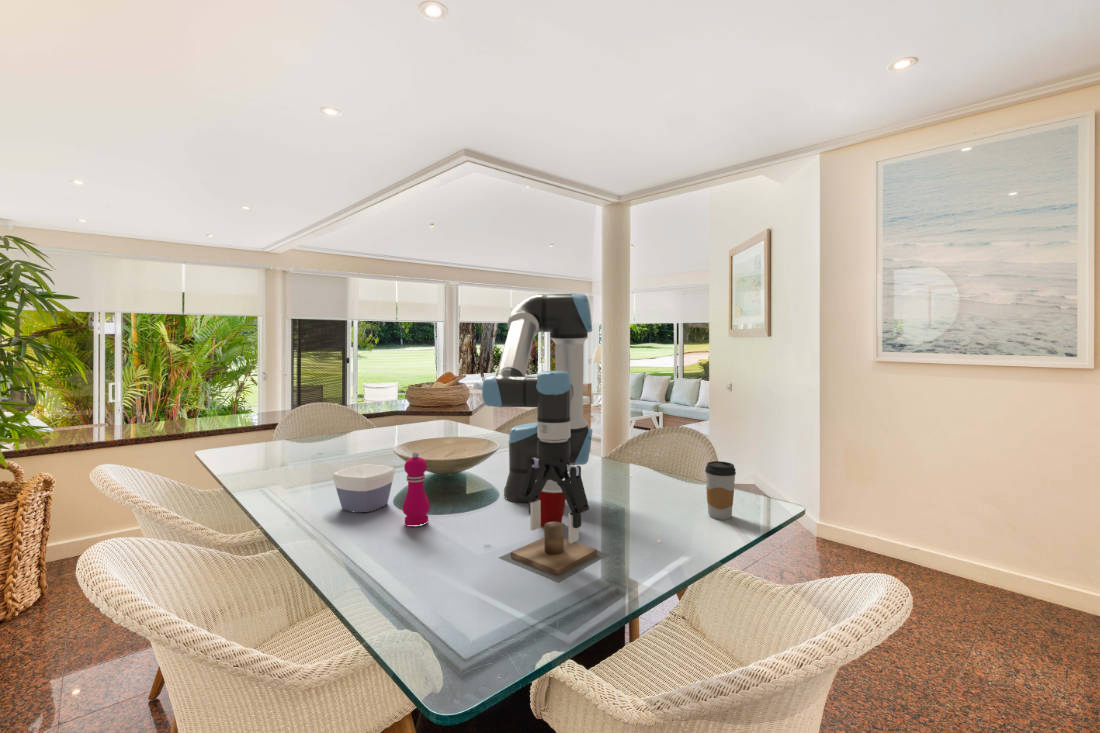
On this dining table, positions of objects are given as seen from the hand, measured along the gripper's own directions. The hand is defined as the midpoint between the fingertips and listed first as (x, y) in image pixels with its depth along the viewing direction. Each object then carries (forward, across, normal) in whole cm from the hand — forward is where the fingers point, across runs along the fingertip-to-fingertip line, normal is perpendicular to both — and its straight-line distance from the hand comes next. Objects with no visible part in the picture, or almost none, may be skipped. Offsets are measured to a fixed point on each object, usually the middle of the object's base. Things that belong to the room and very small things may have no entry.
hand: (554, 534), depth 116 cm
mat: (+6, 0, 0) cm, 6 cm away
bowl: (+6, -68, -9) cm, 69 cm away
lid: (+5, 0, 0) cm, 5 cm away
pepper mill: (+6, -44, -7) cm, 45 cm away
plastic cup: (+6, -14, +15) cm, 21 cm away
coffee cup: (+6, +17, +53) cm, 56 cm away
